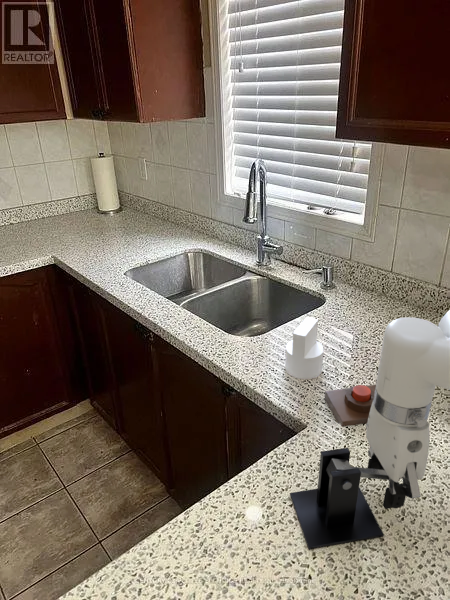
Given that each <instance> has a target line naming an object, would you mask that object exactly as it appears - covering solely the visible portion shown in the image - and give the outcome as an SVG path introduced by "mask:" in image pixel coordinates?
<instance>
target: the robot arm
mask: <svg viewBox="0 0 450 600" xmlns="http://www.w3.org/2000/svg"><path fill="white" fill-rule="evenodd" d="M377 368H378V369H377V376H376V381H375V385H376V387H375V394H374V400H373V402H372V406H371V409H370V413H369V417H368V422H367V423H365V426H366V431H365V437H366V440H367V442H368V445H369V448H368V450H367V454H368V457H369V458H368V461H367V467H366V468H370V469H379V470H382V469H381V467H380V465H379V463H381V465H382V466H383V468H384V470H385V471H386V473H387V474H388V476H389V480H388V487H386V488H385V492H384V498H383V501H382V506H383V509H385V510H388V509H400V508H401V507H403V506H404V505H405V501H406V497H407V498H408V499H417V498H420V497H421V491H420V485H419V480H422V479H423V478H424V476H425V474H426V469H427V464H428V458H429V457H428V456H429V450H430V435H431V434H430V433H431V432H430V424H429V422H428V419H429V415H430V410H431V406H432V403H433V398H434V394H435V389H436V387H438V388H442V389H445V390H448V391H450V309H449V310H448V311H447V312H446V313H445V314H444V315H443V316H442V317H441V319H440V321H439V322H438V325H437V324H435V323H433V322H432V321H429V320H427V319H423V318H421V317H412V316H404V317H399V318H395V319H394V320H392V321H390V322H389V323H388V324H387V325H386V327H385V329H384V332H383V339H382V344H381V351H380V356H379V362H378V367H377ZM368 479H369V480H371V479H373V478H368ZM401 479H402V483H400V484H396V482H400V480H401Z"/></svg>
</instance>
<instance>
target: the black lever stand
mask: <svg viewBox="0 0 450 600" xmlns="http://www.w3.org/2000/svg"><path fill="white" fill-rule="evenodd" d="M350 457H351V451H350V449H349V447H343V448H337V449H335V448H334V449H327V450H322V451H320V457H319V468H318V479H317V488H313V489H306V490H299V491H293V492H289V496H290V500H291V502H292V506H293V508H294V511H295V514H296V517H297V520H298V523H299V526H300V529H301V532H302V535H303V538H304V540H305V544H306V548H307V549H308V550H309V551H310V550H316V549H322V548H327V547H333V546H338V545H339V546H340V545H345V544H349V543H356V542H361V541H367V540H374V539H380V538H383V537H384V536H385V534H384V532H383V530H382V528H381V526H380V524H379V522H378V520H377V519H376V517H375V514H374V513H373V511H372V509H371V507H370V505H369V503H368V501H367V499H366V497H365V495H364V493H363V492H362V489H361V488H360V487H361V486H360V483H361V478H362V477H361V471H360V469H359V468H353V469H346V470H339V471H333V472H330V477H329V475H328V473H327V471H326V469H327V467H328V465H329V463H330V461H331V459H332V458H333V459H342V460H348V462H349V463H350Z"/></svg>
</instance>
